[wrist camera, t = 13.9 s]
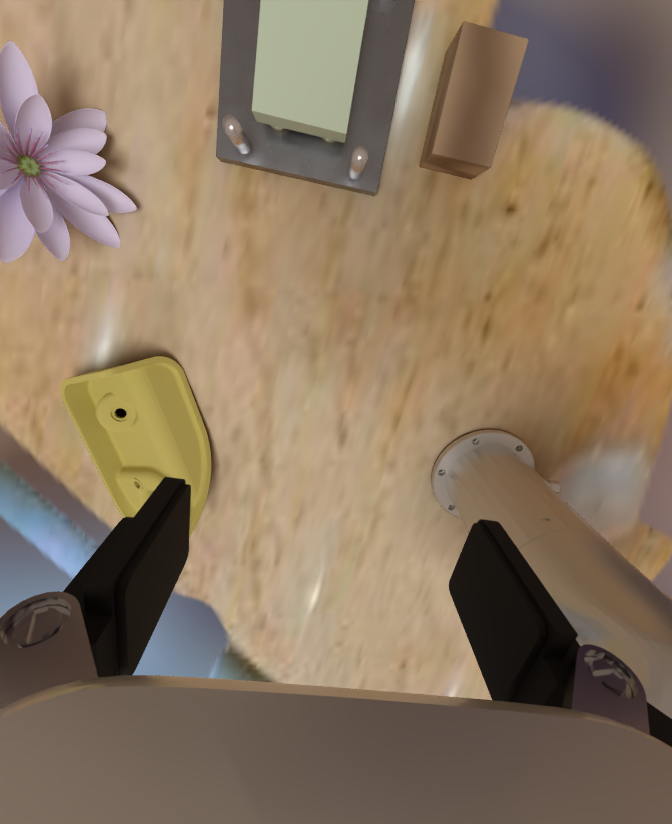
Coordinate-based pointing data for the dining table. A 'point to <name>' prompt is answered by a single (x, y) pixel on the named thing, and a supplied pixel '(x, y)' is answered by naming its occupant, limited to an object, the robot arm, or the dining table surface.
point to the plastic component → (141, 431)
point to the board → (308, 64)
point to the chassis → (299, 151)
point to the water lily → (50, 169)
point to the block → (472, 100)
